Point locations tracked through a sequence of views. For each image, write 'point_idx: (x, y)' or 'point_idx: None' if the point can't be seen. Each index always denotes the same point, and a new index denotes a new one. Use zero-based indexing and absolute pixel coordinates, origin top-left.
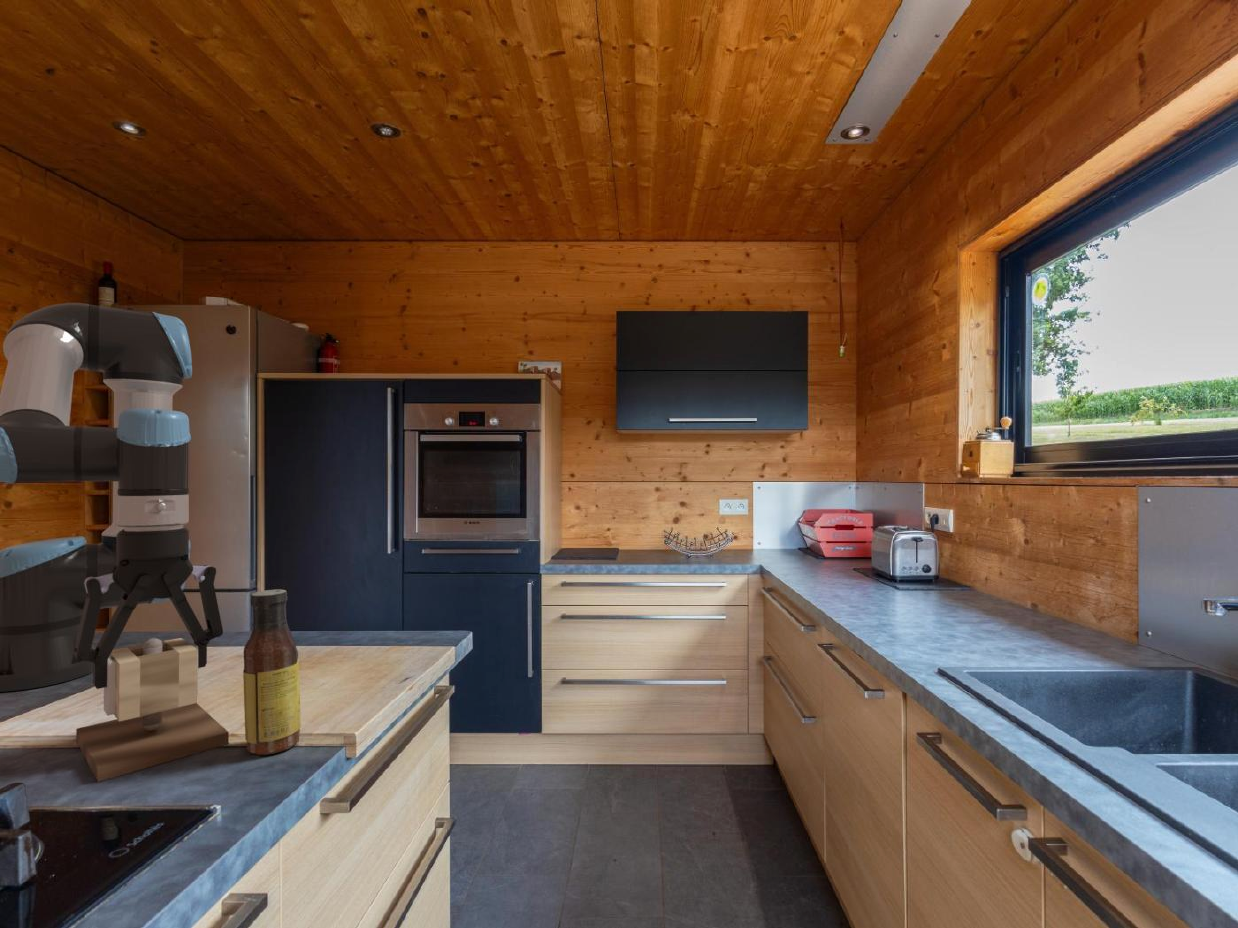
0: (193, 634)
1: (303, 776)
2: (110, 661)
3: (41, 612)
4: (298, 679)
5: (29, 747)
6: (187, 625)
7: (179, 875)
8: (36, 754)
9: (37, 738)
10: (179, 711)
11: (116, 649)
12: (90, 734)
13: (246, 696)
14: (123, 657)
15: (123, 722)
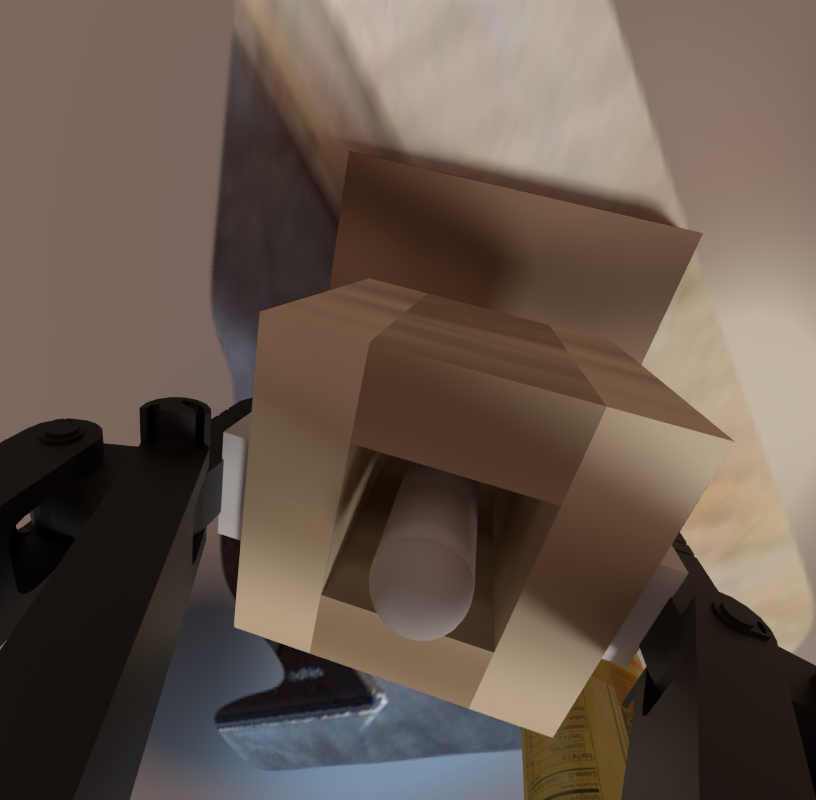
0: (630, 740)
1: (504, 744)
2: (230, 523)
3: None
4: None
5: (267, 86)
6: (636, 797)
7: (291, 755)
8: (269, 179)
9: (298, 2)
10: (595, 307)
11: (307, 337)
12: (356, 256)
13: (525, 771)
14: (274, 553)
15: (451, 237)
